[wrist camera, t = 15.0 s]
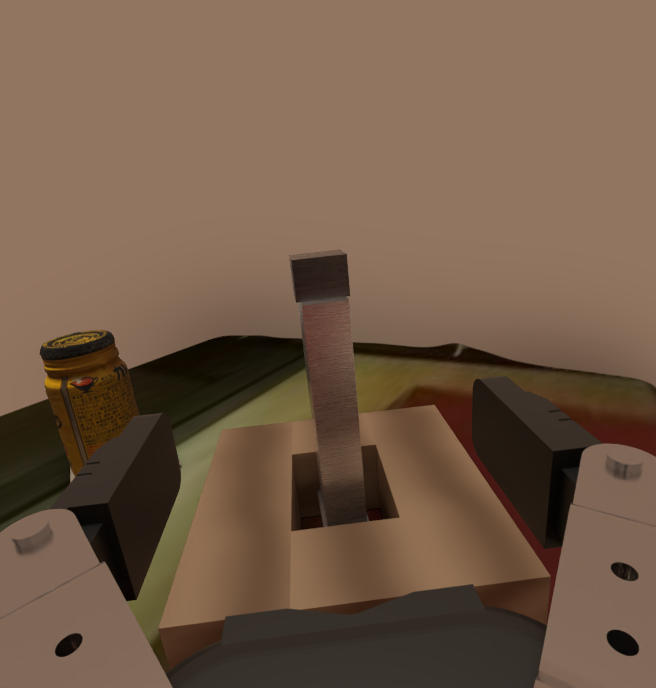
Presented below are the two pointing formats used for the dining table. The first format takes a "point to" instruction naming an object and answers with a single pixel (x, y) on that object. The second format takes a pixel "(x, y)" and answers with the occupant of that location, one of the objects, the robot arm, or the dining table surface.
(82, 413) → the condiment
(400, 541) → the tongs holder
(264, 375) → the dining table surface
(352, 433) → the metal bar
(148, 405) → the dining table surface
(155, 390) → the dining table surface
